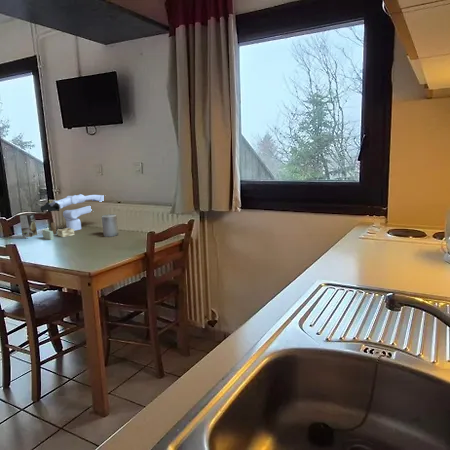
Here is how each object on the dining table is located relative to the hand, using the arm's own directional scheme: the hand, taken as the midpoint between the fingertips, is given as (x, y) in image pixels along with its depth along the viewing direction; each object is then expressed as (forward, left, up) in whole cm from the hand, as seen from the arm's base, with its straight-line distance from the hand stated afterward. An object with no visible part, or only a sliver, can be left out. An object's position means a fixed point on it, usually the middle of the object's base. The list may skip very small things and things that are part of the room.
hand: (44, 209), depth 275 cm
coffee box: (+8, -11, -19) cm, 23 cm away
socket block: (-8, +10, -18) cm, 22 cm away
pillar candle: (-29, +32, -19) cm, 48 cm away
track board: (-5, +10, -19) cm, 22 cm away
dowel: (-5, -2, -19) cm, 20 cm away
